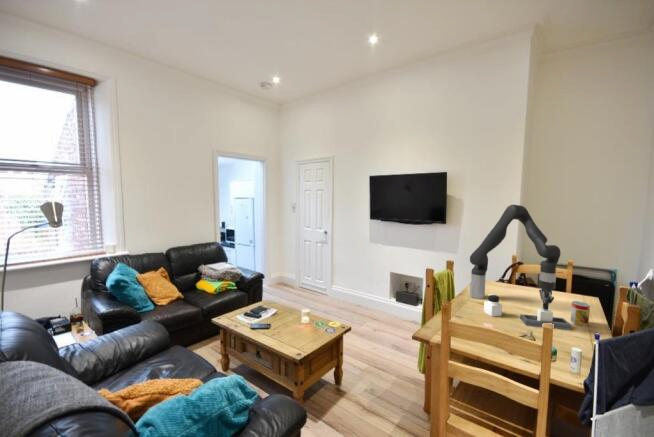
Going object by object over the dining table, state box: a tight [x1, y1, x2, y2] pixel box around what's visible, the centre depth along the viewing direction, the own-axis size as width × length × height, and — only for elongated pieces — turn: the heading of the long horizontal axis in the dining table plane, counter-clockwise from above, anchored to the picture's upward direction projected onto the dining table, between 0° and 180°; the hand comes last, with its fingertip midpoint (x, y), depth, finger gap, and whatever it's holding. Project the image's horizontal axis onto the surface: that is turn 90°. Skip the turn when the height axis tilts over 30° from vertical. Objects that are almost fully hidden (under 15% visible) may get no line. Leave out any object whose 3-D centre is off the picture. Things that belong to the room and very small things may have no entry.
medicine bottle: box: [483, 293, 503, 317], centre depth 182 cm, size 7×7×12 cm
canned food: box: [570, 300, 591, 327], centre depth 168 cm, size 8×8×12 cm
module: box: [536, 307, 554, 322], centre depth 168 cm, size 6×4×8 cm, turn 75°
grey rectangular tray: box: [519, 313, 572, 331], centre depth 168 cm, size 22×10×3 cm, turn 75°
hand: (545, 308), depth 167 cm, fingers closed
